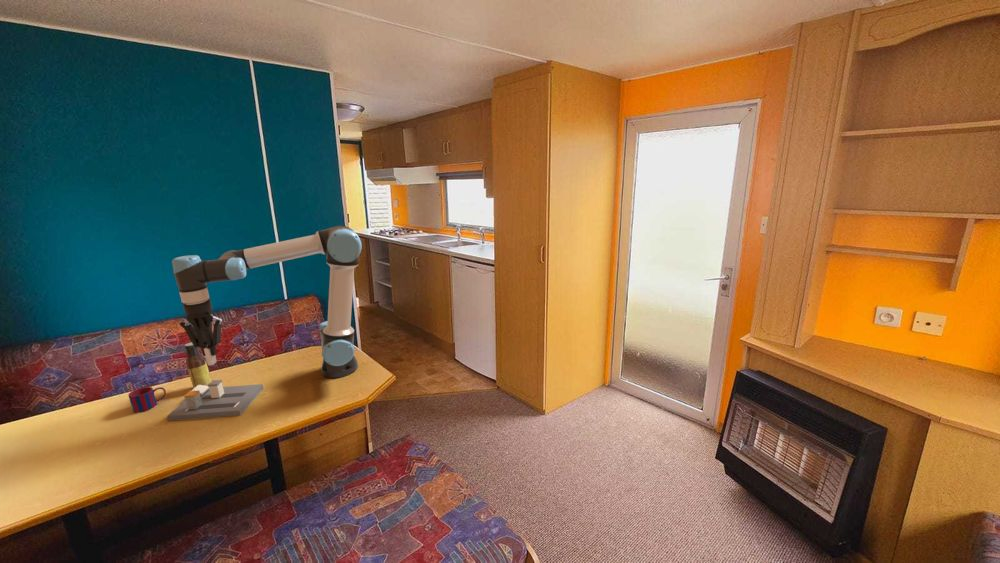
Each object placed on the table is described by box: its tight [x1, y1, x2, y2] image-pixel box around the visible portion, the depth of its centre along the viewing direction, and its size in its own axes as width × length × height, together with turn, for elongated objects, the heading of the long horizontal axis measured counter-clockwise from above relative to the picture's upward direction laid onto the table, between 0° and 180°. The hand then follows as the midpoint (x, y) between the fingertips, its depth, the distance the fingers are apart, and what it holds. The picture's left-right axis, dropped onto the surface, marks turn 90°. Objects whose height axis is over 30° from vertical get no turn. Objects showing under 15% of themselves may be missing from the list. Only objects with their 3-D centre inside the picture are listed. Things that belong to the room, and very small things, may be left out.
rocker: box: [191, 385, 209, 395], centre depth 150 cm, size 4×5×2 cm
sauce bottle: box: [184, 341, 213, 389], centre depth 155 cm, size 7×6×20 cm
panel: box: [166, 384, 264, 422], centre depth 146 cm, size 24×18×2 cm
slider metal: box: [184, 390, 202, 410], centre depth 140 cm, size 3×3×6 cm
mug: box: [128, 386, 167, 414], centre depth 145 cm, size 7×10×7 cm
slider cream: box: [208, 379, 224, 398], centre depth 147 cm, size 3×3×6 cm
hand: (212, 363), depth 137 cm, fingers closed
